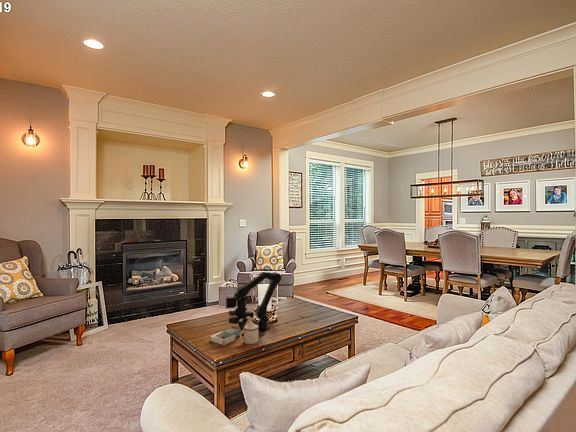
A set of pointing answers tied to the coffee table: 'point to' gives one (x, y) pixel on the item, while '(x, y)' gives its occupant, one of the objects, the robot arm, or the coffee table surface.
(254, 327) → the white printed mug
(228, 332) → the cabinet
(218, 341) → the cream flat base plank
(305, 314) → the coffee table surface
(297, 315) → the coffee table surface
